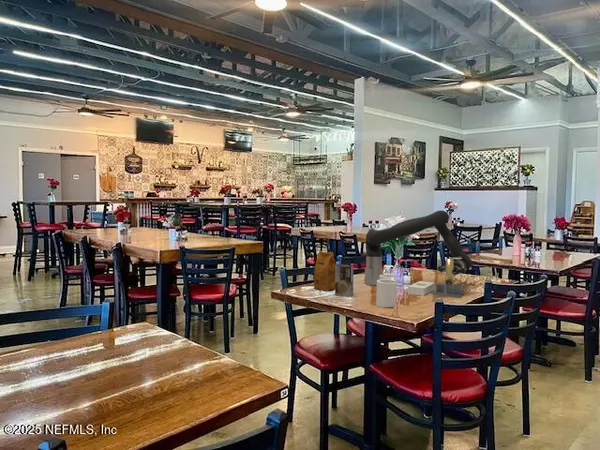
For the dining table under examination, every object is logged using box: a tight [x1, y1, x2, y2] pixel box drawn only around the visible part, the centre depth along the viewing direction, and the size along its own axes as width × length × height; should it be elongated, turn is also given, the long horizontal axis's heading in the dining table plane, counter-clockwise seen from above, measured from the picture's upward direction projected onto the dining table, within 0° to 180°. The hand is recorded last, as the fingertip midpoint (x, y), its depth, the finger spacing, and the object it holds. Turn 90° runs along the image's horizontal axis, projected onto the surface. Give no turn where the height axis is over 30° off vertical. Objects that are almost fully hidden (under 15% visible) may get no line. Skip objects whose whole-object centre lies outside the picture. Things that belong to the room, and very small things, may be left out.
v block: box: [431, 281, 465, 299], centre depth 252 cm, size 10×15×6 cm, turn 57°
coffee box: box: [334, 264, 354, 297], centre depth 248 cm, size 9×6×16 cm
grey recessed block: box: [407, 280, 436, 296], centre depth 259 cm, size 20×9×4 cm, turn 147°
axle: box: [444, 258, 455, 285], centre depth 253 cm, size 4×4×18 cm
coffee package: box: [313, 250, 338, 292], centre depth 262 cm, size 10×12×22 cm
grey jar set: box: [375, 274, 398, 308], centre depth 232 cm, size 25×10×12 cm, turn 168°
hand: (448, 271), depth 252 cm, fingers open, 8 cm apart
